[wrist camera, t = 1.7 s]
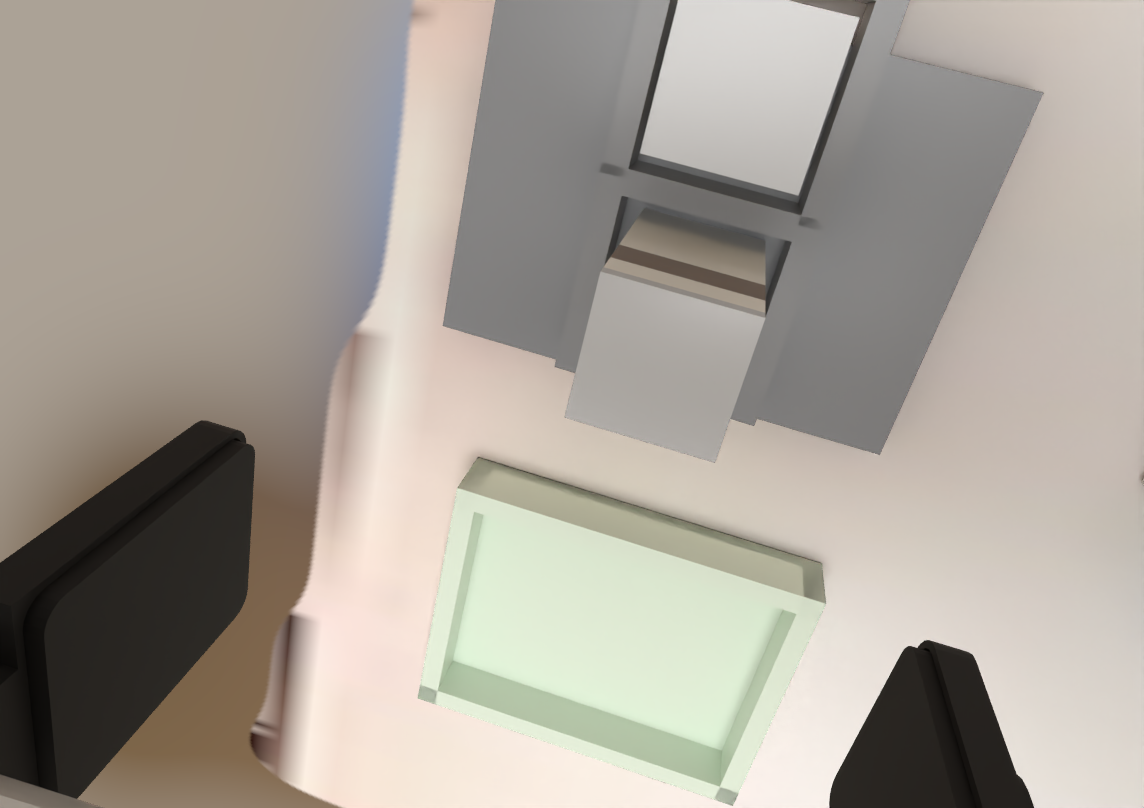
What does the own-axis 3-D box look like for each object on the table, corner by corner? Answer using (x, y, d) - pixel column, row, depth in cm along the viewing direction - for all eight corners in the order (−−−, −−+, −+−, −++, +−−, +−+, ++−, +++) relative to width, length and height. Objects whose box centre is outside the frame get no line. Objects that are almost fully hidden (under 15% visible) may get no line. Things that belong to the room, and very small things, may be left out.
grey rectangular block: (765, 241, 26) (765, 317, 19) (727, 353, 28) (714, 462, 21) (644, 208, 27) (600, 271, 19) (614, 321, 28) (564, 417, 21)
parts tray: (821, 563, 32) (826, 603, 29) (734, 758, 36) (732, 805, 34) (478, 457, 33) (457, 487, 31) (438, 659, 38) (417, 698, 36)
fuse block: (1064, 19, 23) (1171, 14, 17) (876, 441, 29) (905, 548, 23) (523, -110, 25) (444, -157, 19) (452, 317, 31) (375, 386, 25)
